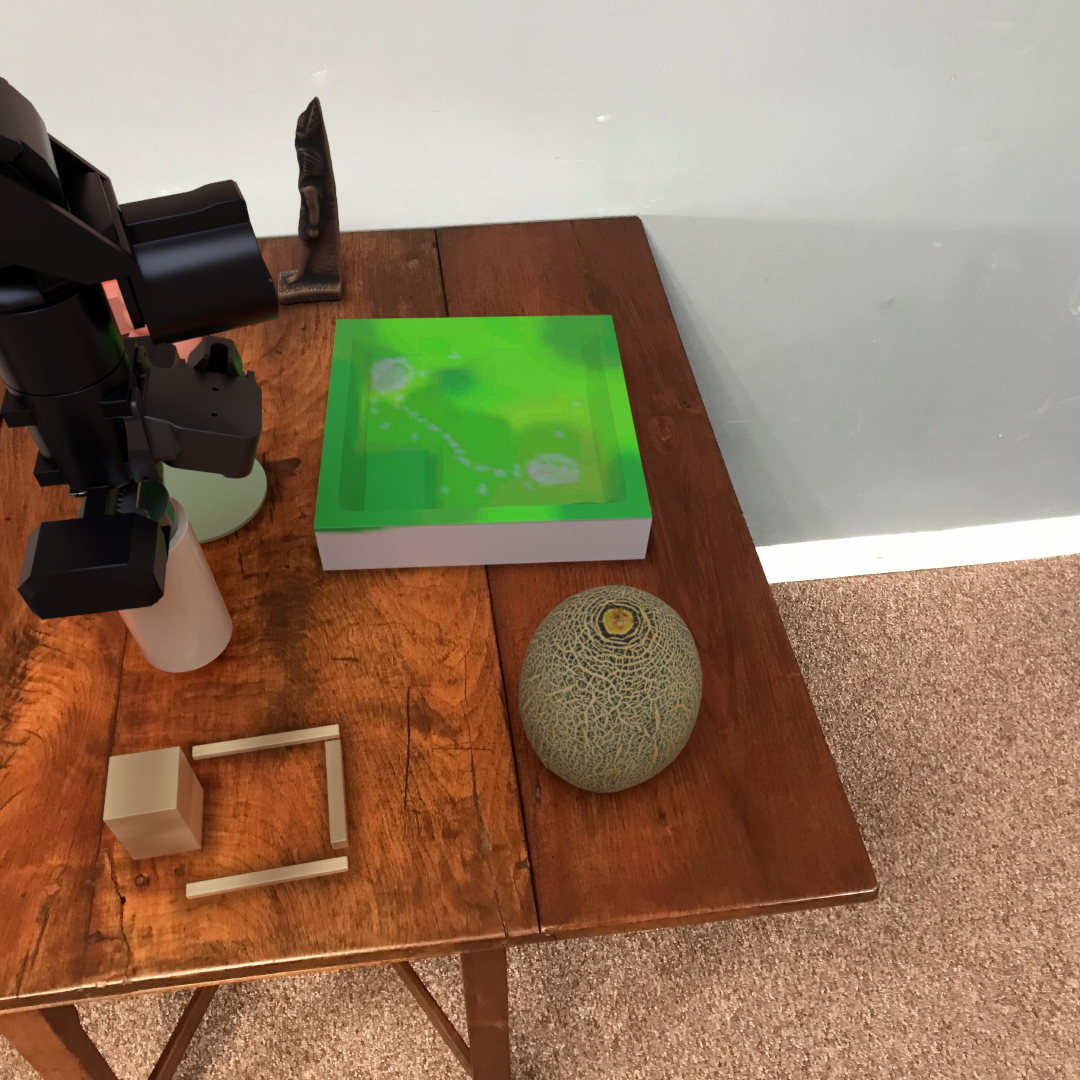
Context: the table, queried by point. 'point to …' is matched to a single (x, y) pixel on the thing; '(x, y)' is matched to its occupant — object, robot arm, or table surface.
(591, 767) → the fruit
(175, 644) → the jar
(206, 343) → the robot arm
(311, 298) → the statue
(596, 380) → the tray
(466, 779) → the table surface
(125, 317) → the pottery
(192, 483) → the coaster
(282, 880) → the jar stand
